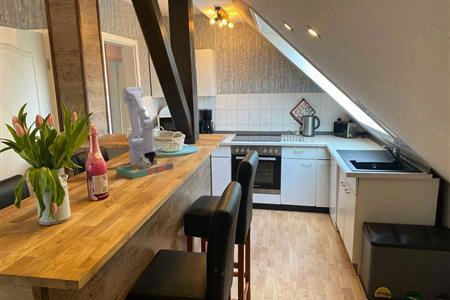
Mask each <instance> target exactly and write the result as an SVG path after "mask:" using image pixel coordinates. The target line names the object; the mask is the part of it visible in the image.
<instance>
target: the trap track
mask: <svg viewBox="0 0 450 300" xmlns="http://www.w3.org/2000/svg"><path fill="white" fill-rule="evenodd" d="M135 164H136V163H135ZM157 164H158V160H157V158H154V160H153V166H151V167H150V168H148V169H144V170H140V171H139V169H138V167H137V166H136V165H134V164H128V165H127V164H126V165H122V166H119V167H115V171H116V174H117V175H120V176H123V177H127V178H129V179H133V180H134V179H138V178H142V177H146V176H149V175H153V174H157V173H161V172H165V171H168V170H172V169H174V163H173V162H169V163H165V164H161V165H157ZM135 170H137V171H135Z"/></svg>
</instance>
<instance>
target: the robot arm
mask: <svg viewBox="0 0 450 300" xmlns="http://www.w3.org/2000/svg"><path fill="white" fill-rule="evenodd" d="M122 98H123V102H124V103H125V104H126V105H127V110H128V114H129V115H128V116H129V121H130V127H131V132H130V134H129V135H128V137H127V145H128V148H129V151H128V155H129V162H128V164H129V165H131V164H135V163H137V162H138V160H139V157H140V158H147V157H148V156H149V157H148V159H149V161H150V162H151V164H153V160H154V159H156V158H155V157H156V156H157V152H162V147H161V146H158V147H155V137H154V136H155V134H154V129H155V127H156V123H155V120H154V118H152V116H151V115H150V113H149V110H148V109H147V108H146V107H145V105H144V103H143V99H142V98H143V88H142V87H141V86H132V87H131V86H129V87H127V86H125V87H123V88H122ZM151 167H154V165H151Z"/></svg>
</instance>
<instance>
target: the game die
mask: <svg viewBox="0 0 450 300" xmlns="http://www.w3.org/2000/svg"><path fill="white" fill-rule="evenodd" d="M148 157H149V156H148ZM148 157H147V158H140V157H139V160H138V162H137V163H136V164H134V165H136V166H137V167H138V169H137V170H138V171H140V170H144V169H148V168H152V166H151V165H153V164H151V162H150V161H149V159H148ZM153 166H154V165H153Z"/></svg>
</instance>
